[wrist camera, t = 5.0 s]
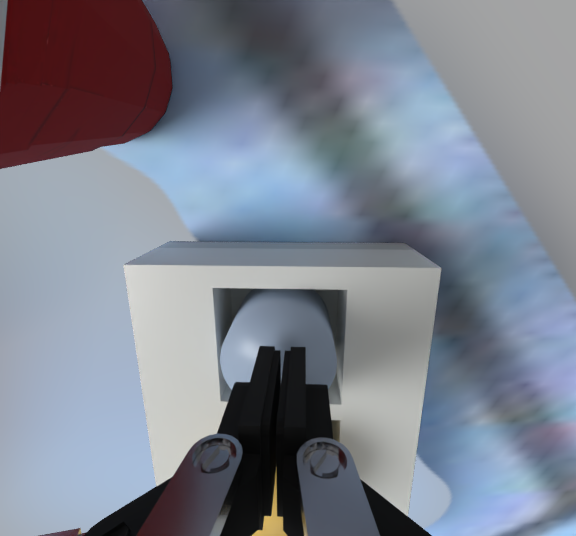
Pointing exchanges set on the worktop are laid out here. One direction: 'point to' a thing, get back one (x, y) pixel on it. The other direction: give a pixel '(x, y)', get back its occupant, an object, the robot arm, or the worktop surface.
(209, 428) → the white slotted frame
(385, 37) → the worktop surface
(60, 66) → the plastic cup
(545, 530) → the worktop surface
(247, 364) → the button slate
